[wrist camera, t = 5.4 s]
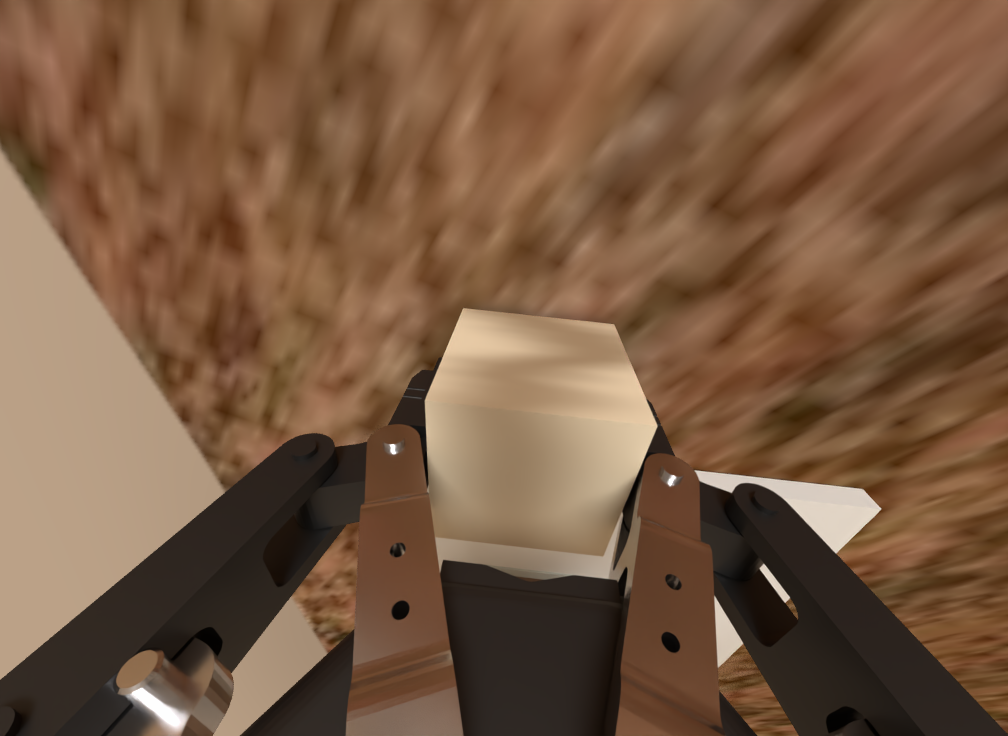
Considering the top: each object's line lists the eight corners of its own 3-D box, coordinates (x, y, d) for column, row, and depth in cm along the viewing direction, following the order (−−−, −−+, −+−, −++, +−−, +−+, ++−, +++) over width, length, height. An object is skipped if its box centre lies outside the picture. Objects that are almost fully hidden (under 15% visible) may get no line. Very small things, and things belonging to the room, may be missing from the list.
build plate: (862, 489, 15) (883, 511, 15) (702, 659, 25) (709, 679, 24) (399, 437, 16) (391, 456, 15) (417, 625, 25) (413, 644, 24)
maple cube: (613, 324, 12) (657, 426, 8) (583, 436, 15) (603, 556, 10) (463, 308, 12) (424, 400, 8) (460, 422, 15) (430, 536, 10)
